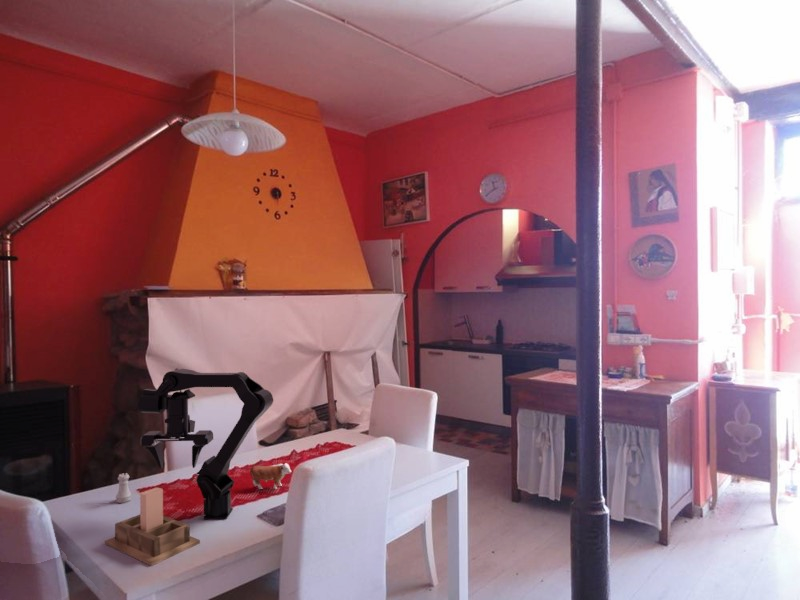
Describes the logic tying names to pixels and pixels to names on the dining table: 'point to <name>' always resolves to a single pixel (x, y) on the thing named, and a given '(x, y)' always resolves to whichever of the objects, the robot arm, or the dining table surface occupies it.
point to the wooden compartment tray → (152, 539)
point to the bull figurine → (269, 473)
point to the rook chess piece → (123, 489)
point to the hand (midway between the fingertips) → (177, 467)
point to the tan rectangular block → (151, 508)
